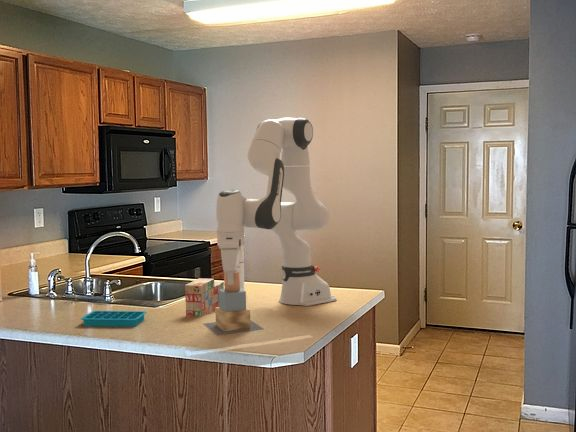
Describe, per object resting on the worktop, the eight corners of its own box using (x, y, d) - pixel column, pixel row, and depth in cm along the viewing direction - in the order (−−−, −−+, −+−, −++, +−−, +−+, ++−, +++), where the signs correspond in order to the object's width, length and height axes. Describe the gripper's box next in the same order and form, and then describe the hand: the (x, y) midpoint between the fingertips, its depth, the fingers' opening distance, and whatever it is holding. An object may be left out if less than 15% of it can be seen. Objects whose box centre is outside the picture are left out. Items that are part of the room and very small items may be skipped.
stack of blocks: (209, 304, 247) (208, 273, 246) (224, 305, 245) (224, 274, 244) (185, 318, 227) (184, 284, 225) (202, 319, 225) (201, 285, 224)
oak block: (241, 321, 216) (240, 304, 216) (250, 327, 208) (250, 309, 208) (215, 324, 213) (215, 307, 212) (224, 331, 205) (223, 313, 204)
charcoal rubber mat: (247, 320, 221) (247, 318, 221) (264, 332, 206) (264, 329, 206) (202, 326, 215) (202, 323, 214) (217, 338, 200) (217, 335, 200)
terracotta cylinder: (236, 288, 213) (236, 270, 212) (242, 291, 208) (241, 273, 208) (222, 289, 211) (222, 272, 210) (227, 292, 206) (226, 274, 206)
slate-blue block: (239, 305, 214) (238, 287, 214) (246, 309, 208) (245, 291, 208) (219, 307, 212) (218, 289, 211) (225, 312, 205) (225, 293, 205)
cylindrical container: (247, 290, 271) (246, 232, 269) (235, 293, 266) (234, 234, 264) (236, 288, 276) (234, 231, 274) (224, 291, 271) (222, 233, 268)
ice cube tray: (136, 328, 215) (136, 319, 215) (79, 327, 218) (79, 318, 217) (148, 319, 227) (147, 311, 227) (93, 318, 229) (93, 310, 229)
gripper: (223, 235, 218) (224, 275, 219) (218, 244, 198) (219, 287, 199) (242, 235, 218) (243, 275, 219) (238, 243, 198) (239, 287, 199)
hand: (231, 281), depth 209 cm, fingers open, 8 cm apart
